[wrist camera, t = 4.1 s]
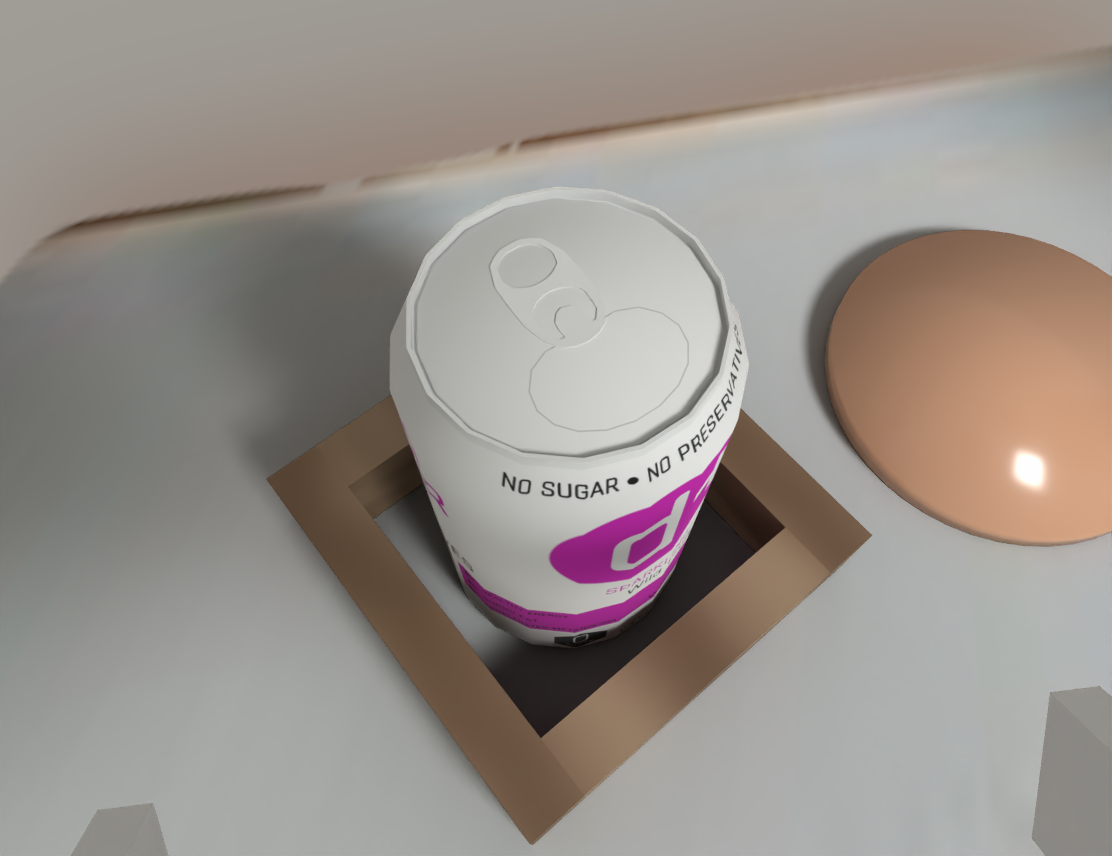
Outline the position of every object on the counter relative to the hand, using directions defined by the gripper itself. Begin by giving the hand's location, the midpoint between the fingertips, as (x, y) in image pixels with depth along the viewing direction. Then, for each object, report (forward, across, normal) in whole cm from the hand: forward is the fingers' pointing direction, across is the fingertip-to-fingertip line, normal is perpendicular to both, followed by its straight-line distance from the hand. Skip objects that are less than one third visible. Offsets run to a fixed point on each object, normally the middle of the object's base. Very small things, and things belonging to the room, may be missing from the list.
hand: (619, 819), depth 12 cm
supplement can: (+19, 0, -5) cm, 19 cm away
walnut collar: (+18, 0, -4) cm, 19 cm away
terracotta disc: (+22, +19, -1) cm, 29 cm away
